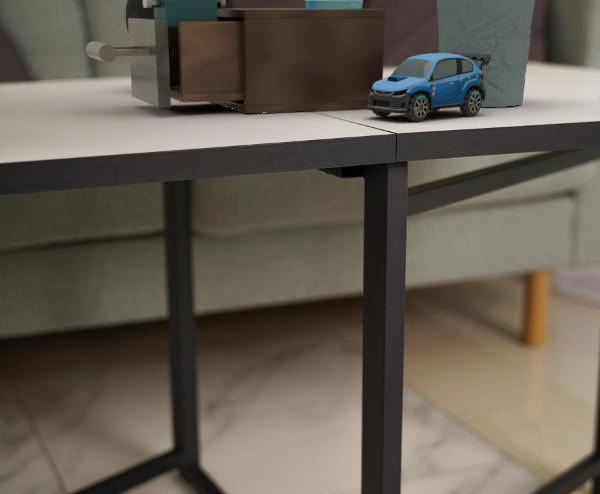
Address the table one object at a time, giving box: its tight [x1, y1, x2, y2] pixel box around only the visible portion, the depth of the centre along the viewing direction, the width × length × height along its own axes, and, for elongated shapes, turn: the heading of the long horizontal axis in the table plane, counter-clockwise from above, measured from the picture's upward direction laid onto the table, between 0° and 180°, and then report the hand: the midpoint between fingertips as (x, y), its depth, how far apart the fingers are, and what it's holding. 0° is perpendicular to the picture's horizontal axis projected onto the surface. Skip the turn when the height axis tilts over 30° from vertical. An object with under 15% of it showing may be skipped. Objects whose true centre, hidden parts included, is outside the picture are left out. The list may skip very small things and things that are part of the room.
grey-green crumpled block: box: [436, 0, 536, 108], centre depth 95 cm, size 10×10×12 cm
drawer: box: [85, 18, 244, 108], centre depth 90 cm, size 18×11×8 cm, turn 112°
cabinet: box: [209, 8, 386, 114], centre depth 94 cm, size 15×13×10 cm
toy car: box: [366, 52, 491, 122], centre depth 85 cm, size 6×12×6 cm, turn 129°
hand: (184, 7), depth 88 cm, fingers closed on block, 5 cm apart
